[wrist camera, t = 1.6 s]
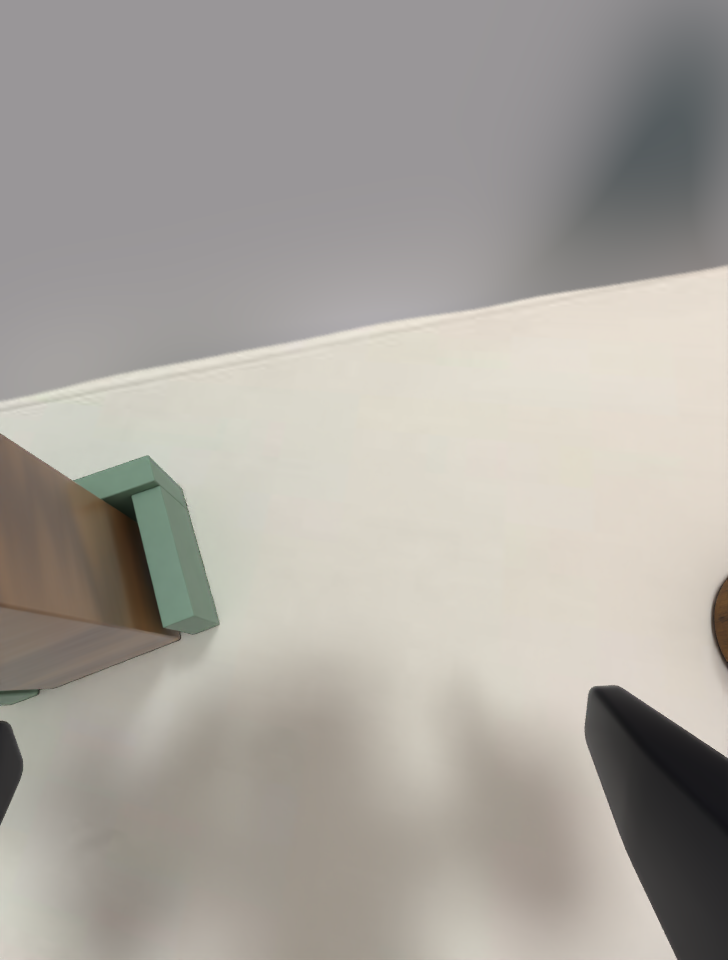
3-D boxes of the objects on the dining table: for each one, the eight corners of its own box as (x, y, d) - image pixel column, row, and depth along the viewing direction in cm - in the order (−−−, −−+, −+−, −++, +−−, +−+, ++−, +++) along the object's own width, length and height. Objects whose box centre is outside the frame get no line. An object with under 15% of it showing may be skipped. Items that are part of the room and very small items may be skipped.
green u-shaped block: (219, 624, 23) (190, 614, 19) (10, 705, 22) (-66, 711, 18) (181, 487, 25) (148, 454, 21) (-10, 555, 24) (-81, 532, 20)
